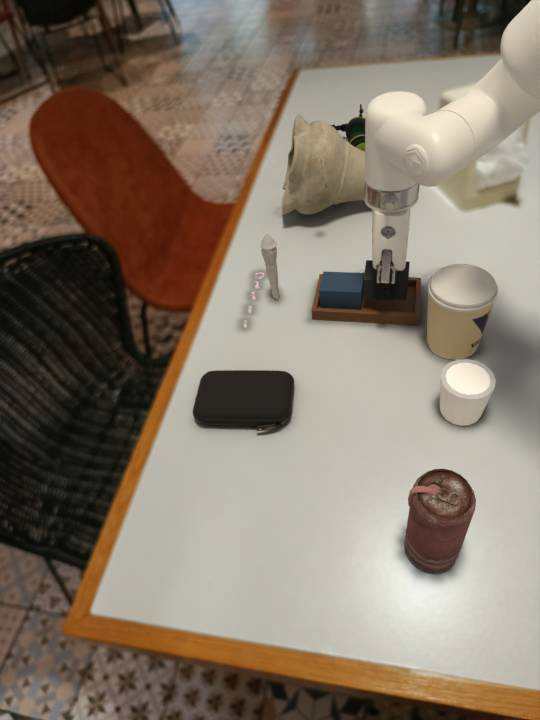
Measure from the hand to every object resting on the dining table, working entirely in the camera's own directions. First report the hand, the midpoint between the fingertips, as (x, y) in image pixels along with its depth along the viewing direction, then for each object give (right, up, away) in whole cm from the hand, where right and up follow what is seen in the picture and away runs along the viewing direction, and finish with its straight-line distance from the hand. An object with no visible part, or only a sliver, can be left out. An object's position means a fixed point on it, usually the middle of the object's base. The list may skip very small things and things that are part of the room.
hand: (386, 286), depth 87 cm
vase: (-3, +20, +24) cm, 31 cm away
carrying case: (-23, -19, -8) cm, 31 cm away
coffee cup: (+9, -10, -5) cm, 14 cm away
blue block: (-7, -2, +4) cm, 8 cm away
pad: (0, 0, 0) cm, 1 cm away
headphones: (+1, +37, +38) cm, 53 cm away
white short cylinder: (+8, -19, -13) cm, 24 cm away
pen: (-18, -1, +7) cm, 20 cm away
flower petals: (-22, -1, +9) cm, 24 cm away
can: (-1, -35, -25) cm, 43 cm away
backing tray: (-3, -2, +4) cm, 5 cm away
